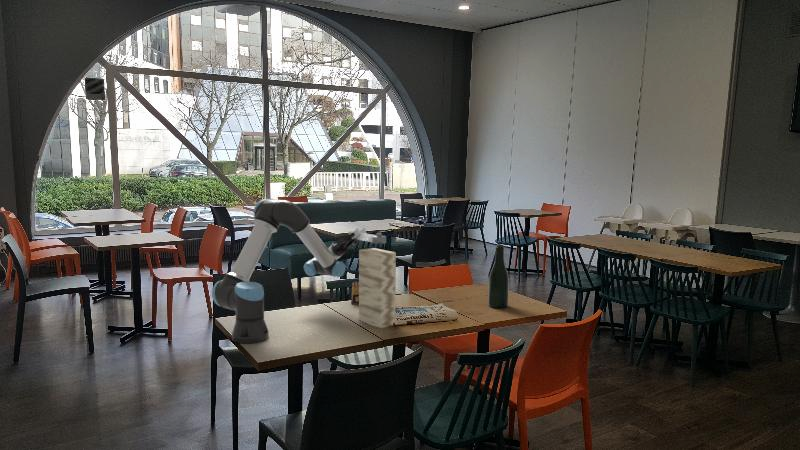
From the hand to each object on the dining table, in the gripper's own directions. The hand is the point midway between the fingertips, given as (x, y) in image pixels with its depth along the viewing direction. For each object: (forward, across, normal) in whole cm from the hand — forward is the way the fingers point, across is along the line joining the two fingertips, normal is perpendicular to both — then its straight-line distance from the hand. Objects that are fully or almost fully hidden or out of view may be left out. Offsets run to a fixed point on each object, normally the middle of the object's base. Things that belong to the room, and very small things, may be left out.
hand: (361, 230), depth 265 cm
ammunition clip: (-41, +16, +26) cm, 51 cm away
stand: (-11, 0, +42) cm, 44 cm away
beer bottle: (+3, +68, +51) cm, 85 cm away
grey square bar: (+1, 0, +6) cm, 6 cm away
